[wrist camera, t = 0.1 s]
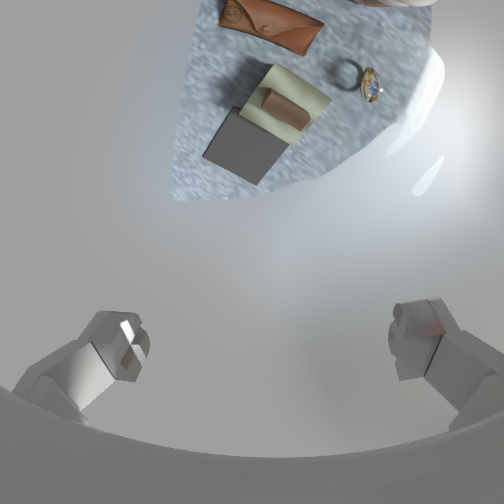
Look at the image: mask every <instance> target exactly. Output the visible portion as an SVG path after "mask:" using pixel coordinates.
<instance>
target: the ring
mask: <svg viewBox="0 0 504 504" xmlns="http://www.w3.org/2000/svg"><path fill="white" fill-rule="evenodd" d="M372 73H373V74H374V76H375V79H376V80H374V83H372V82H371V80H372ZM368 74H369V80H368V83H367V86H366V90H367V96H366V93H365V83H366V81H367V80H366V79H367V76H368ZM370 85H371V86H370ZM370 87H371V88H370ZM370 91H371V92H372V91H373V92H372V95H373V96H372V97H371V98H370ZM377 92H378V93H377ZM382 92H383V89H382V84H381V81H380V78H379V75H378V73H377V71H376V70H375V69H373V68H370V67H367V68H366V69H365V71H364V73H363V76H362V78H361V85H360V94H361V98H362V100H363V101H366V102H370V103H372V102H374V101H375V100H376V99H377V98H378V96H379V95H381V94H382Z"/></svg>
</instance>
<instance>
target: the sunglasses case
mask: <svg viewBox="0 0 504 504" xmlns="http://www.w3.org/2000/svg"><path fill="white" fill-rule="evenodd" d="M217 25H218V26H220V27H224V28H229V29H233V30H237V31H241V32H245V33H248V34H251V35H254V36H257V37H260V38H263V39H265V40H268V41H271V42H273V43H276V44H278V45H281V46H283V47H285V48H287V49H289V50H291V51H293V52H295V53H297V54H299V55H301V56H304V55H306V52H307V49H308V48H309V46H310V44H311V43H312V41H313V39H314V37H315V36H316V34H317V33H318V32H319V30H320V29H321V28H322V27H323V26H324V23H322V22H320V21H318V20H316V19H314V18H312V17H310V16H308V15H305V14H303V13H301V12H298V11H296V10H293V9H291V8H288V7H286V6H283V5H280V4H278V3H275V2H272V1H269V0H226V2H225V6H224V9H223V11H222V14H221V17H220V21H219V23H218V24H217Z"/></svg>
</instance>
